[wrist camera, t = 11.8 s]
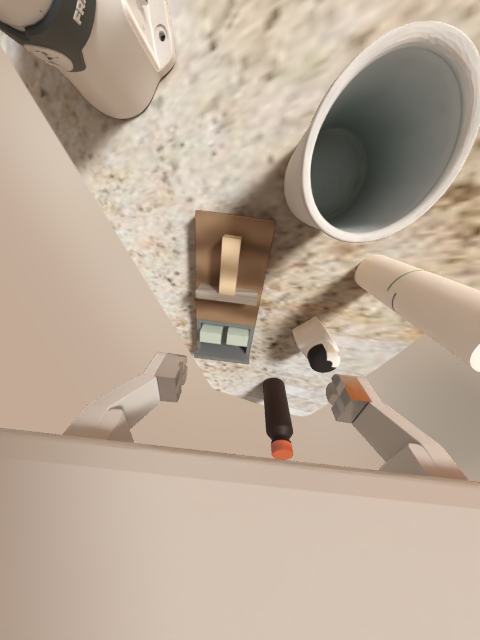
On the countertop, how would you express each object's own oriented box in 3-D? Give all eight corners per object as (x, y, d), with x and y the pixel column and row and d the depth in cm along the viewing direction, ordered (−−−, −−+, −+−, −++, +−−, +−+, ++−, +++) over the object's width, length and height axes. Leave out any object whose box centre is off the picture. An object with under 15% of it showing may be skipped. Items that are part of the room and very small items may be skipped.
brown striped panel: (200, 210, 35) (195, 210, 32) (273, 220, 35) (275, 221, 32) (200, 310, 47) (196, 318, 43) (254, 317, 47) (255, 326, 43)
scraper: (200, 230, 33) (194, 233, 30) (266, 239, 33) (268, 243, 30) (200, 289, 39) (195, 297, 36) (255, 297, 39) (256, 305, 36)
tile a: (199, 331, 43) (199, 341, 44) (221, 334, 43) (220, 344, 44) (204, 320, 47) (204, 329, 49) (223, 322, 47) (223, 332, 49)
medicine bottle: (304, 346, 51) (318, 381, 41) (291, 329, 48) (302, 362, 38) (329, 333, 48) (350, 367, 38) (316, 314, 46) (335, 345, 35)
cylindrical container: (351, 289, 42) (456, 374, 20) (358, 256, 38) (495, 320, 17) (385, 286, 41) (531, 372, 20) (395, 252, 37) (588, 314, 16)
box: (200, 311, 47) (193, 324, 42) (254, 318, 47) (255, 332, 42) (199, 342, 52) (194, 357, 47) (248, 348, 52) (248, 364, 47)
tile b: (227, 334, 43) (226, 344, 44) (248, 336, 43) (246, 346, 44) (229, 322, 47) (228, 332, 49) (248, 325, 47) (247, 334, 49)
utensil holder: (267, 216, 35) (280, 224, 20) (298, 105, 27) (356, -17, 12) (339, 236, 36) (401, 257, 21) (388, 135, 28) (540, 56, 14)
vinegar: (283, 391, 61) (295, 462, 44) (262, 391, 62) (267, 461, 45) (284, 377, 58) (299, 448, 41) (263, 377, 58) (268, 447, 41)
